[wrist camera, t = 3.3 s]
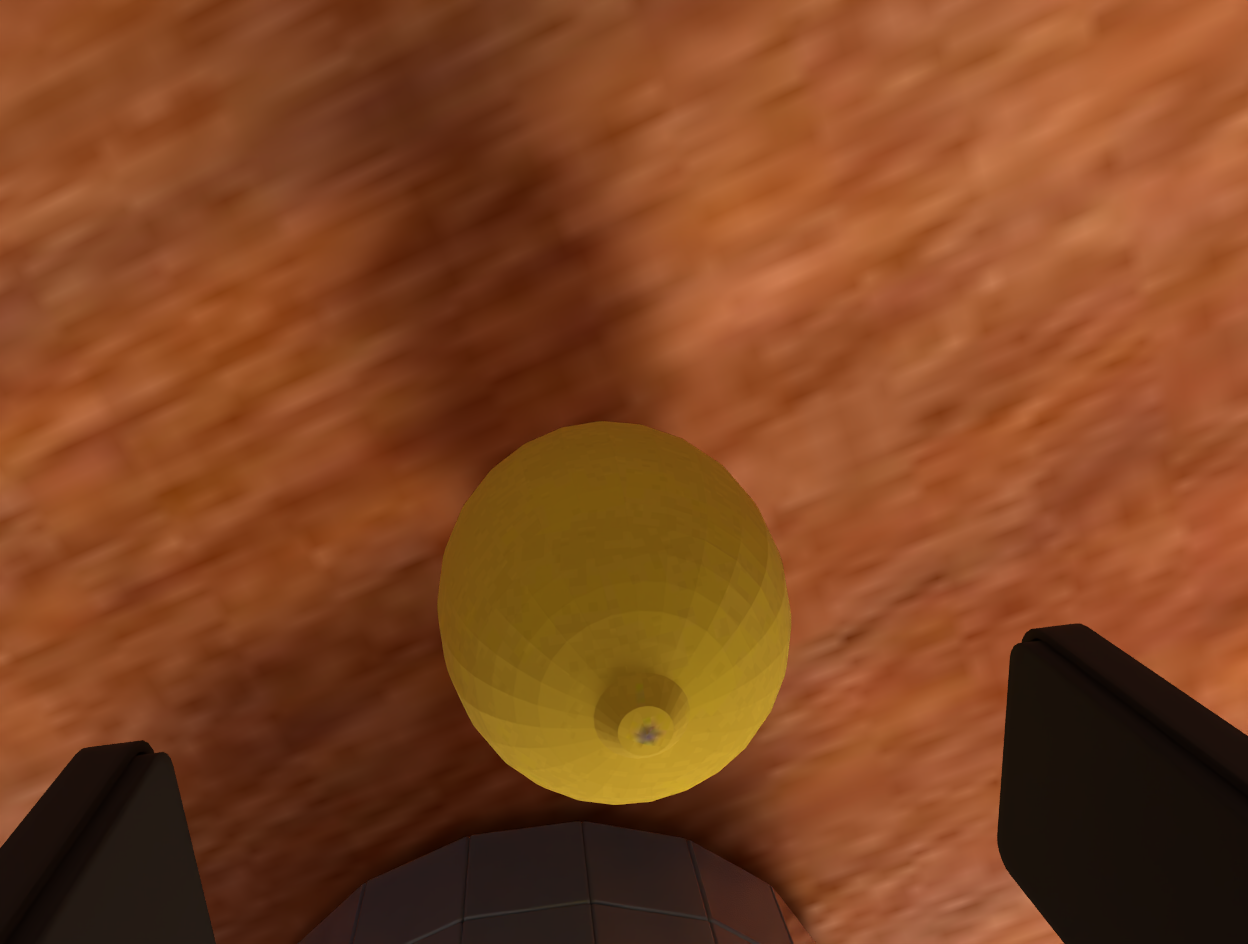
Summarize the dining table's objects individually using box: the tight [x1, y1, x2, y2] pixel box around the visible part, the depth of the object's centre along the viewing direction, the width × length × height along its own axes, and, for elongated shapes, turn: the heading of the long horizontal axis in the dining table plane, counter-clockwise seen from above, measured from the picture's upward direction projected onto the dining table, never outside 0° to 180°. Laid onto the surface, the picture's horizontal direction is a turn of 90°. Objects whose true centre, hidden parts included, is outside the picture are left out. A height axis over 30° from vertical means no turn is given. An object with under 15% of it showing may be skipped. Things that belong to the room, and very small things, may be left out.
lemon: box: [437, 421, 791, 805], centre depth 14 cm, size 6×6×8 cm
